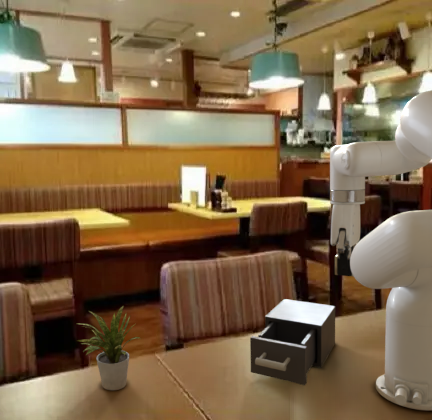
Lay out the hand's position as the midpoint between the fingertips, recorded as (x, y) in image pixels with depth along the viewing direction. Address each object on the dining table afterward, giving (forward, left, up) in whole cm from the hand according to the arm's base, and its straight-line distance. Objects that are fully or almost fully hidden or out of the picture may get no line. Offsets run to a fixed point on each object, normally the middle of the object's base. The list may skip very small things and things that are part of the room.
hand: (347, 272), depth 106 cm
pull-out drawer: (-20, +9, -18) cm, 29 cm away
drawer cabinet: (-6, +9, -19) cm, 22 cm away
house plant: (-41, +40, -19) cm, 61 cm away
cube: (0, 0, 0) cm, 0 cm away
